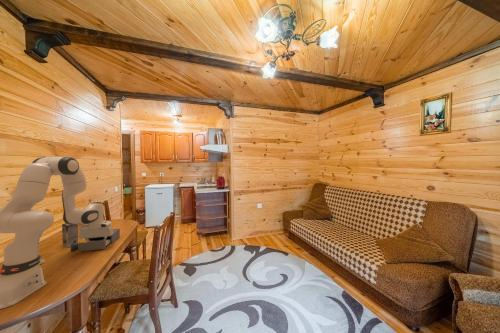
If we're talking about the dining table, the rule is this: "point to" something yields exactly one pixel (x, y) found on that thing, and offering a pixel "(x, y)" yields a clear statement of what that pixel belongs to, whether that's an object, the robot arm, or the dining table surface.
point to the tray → (93, 245)
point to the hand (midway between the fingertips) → (96, 242)
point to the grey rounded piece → (73, 247)
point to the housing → (113, 237)
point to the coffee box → (69, 234)
